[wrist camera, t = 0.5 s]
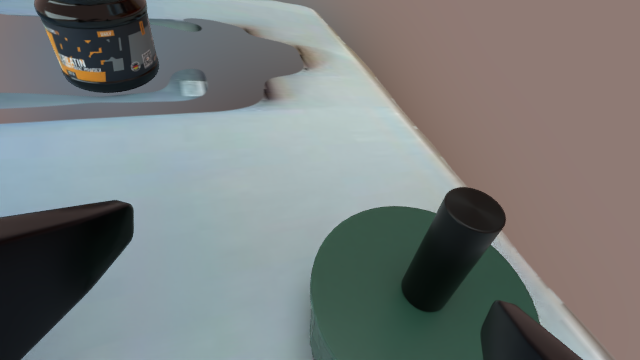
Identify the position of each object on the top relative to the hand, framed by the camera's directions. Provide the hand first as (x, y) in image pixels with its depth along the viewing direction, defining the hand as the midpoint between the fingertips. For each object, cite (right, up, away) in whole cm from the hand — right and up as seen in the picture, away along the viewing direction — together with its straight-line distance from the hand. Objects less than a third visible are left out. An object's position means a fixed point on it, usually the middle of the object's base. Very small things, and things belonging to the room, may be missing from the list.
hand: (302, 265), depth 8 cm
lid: (+6, -5, +12) cm, 14 cm away
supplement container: (-25, +15, +35) cm, 46 cm away
